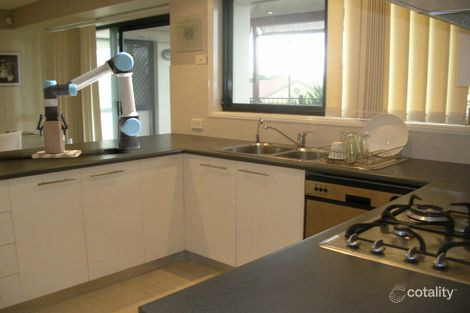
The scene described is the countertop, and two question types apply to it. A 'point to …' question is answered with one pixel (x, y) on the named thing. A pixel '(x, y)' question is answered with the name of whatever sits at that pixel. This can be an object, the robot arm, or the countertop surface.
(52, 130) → the block
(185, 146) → the countertop surface
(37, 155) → the board
